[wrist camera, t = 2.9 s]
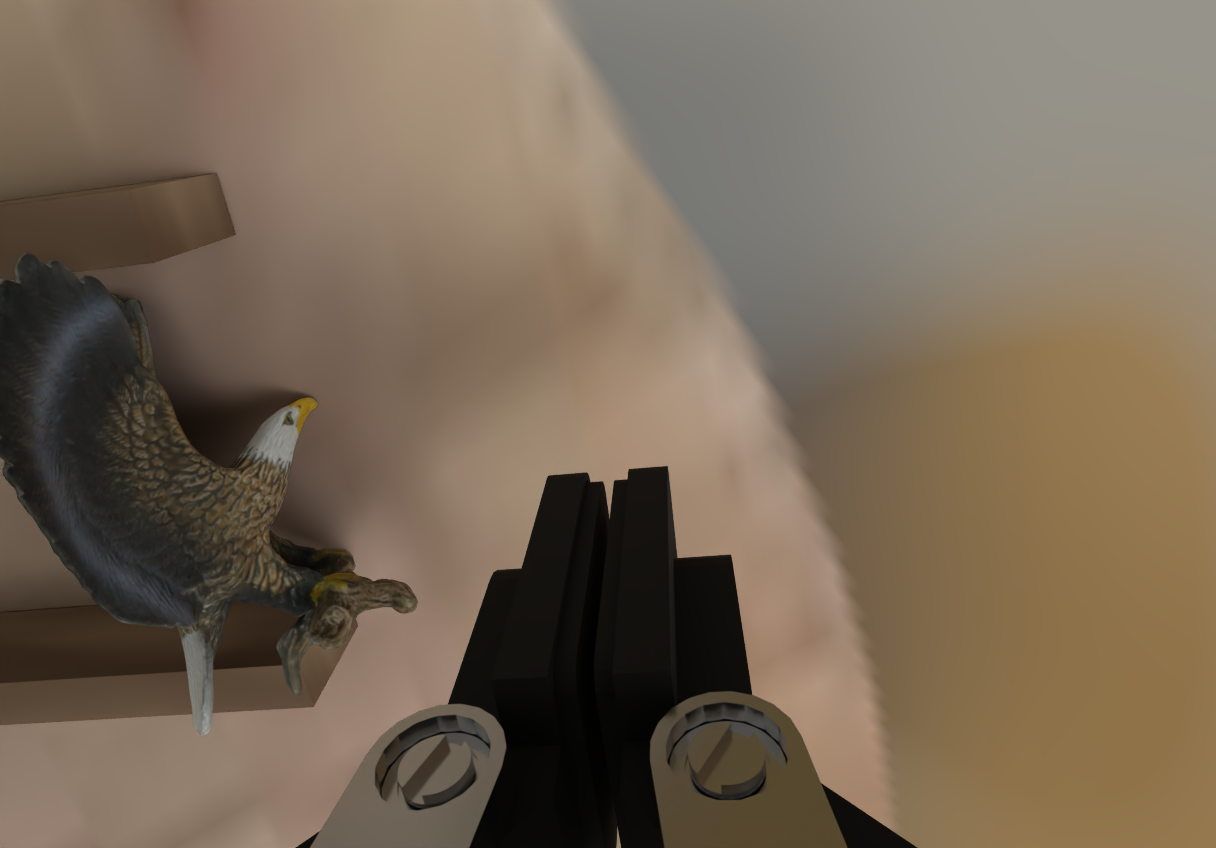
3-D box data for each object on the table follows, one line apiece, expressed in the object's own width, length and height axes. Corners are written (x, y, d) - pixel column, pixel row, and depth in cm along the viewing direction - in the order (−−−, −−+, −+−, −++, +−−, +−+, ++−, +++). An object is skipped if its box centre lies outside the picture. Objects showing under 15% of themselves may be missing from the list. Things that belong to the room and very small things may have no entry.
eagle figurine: (501, 449, 17) (124, 157, 13) (341, 769, 13) (-265, 476, 9) (359, 512, 23) (61, 315, 19) (214, 753, 18) (-203, 562, 15)
